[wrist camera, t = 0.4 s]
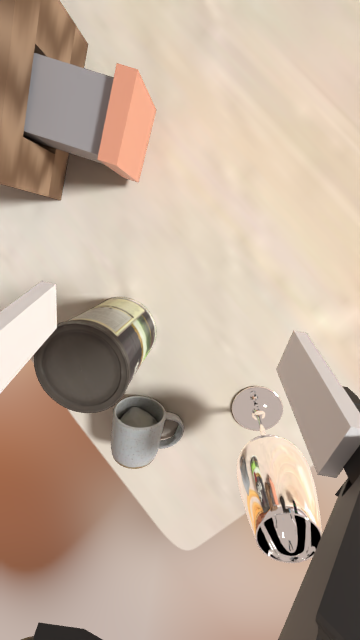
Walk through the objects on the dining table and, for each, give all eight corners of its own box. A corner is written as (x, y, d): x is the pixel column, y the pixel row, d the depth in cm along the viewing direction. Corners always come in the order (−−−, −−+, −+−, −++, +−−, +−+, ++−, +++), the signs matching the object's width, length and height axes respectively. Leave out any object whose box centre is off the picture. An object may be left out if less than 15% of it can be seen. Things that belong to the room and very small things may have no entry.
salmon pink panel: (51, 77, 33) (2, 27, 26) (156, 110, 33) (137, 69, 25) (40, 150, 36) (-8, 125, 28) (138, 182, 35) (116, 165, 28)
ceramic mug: (118, 434, 48) (101, 469, 40) (122, 391, 46) (105, 420, 38) (180, 446, 47) (174, 485, 40) (188, 404, 45) (183, 436, 38)
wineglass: (220, 406, 44) (222, 532, 25) (258, 375, 42) (293, 486, 23) (255, 439, 45) (283, 586, 26) (294, 410, 43) (358, 546, 23)
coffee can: (171, 334, 42) (149, 377, 29) (122, 373, 45) (82, 430, 31) (123, 281, 41) (77, 300, 27) (77, 325, 44) (14, 362, 30)
